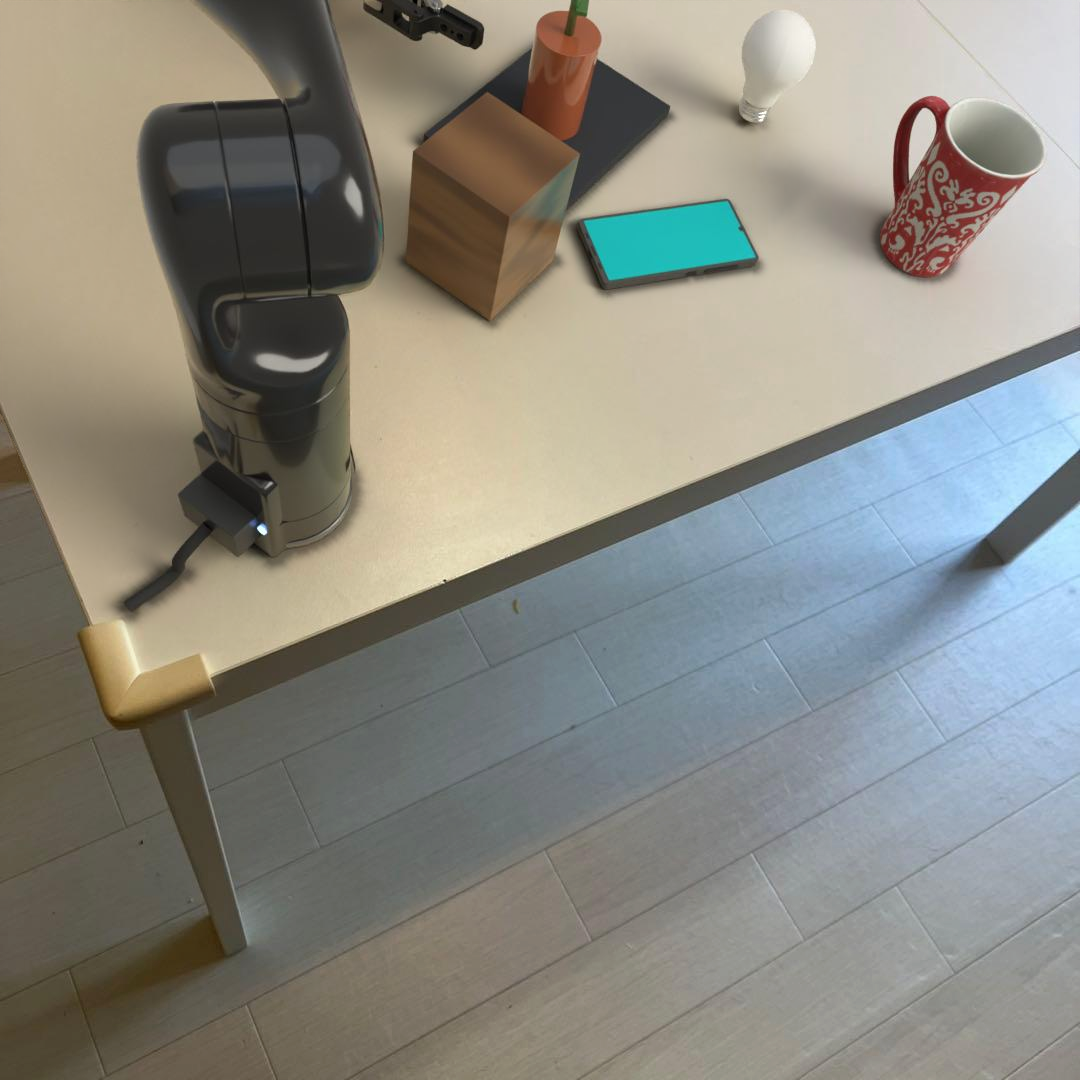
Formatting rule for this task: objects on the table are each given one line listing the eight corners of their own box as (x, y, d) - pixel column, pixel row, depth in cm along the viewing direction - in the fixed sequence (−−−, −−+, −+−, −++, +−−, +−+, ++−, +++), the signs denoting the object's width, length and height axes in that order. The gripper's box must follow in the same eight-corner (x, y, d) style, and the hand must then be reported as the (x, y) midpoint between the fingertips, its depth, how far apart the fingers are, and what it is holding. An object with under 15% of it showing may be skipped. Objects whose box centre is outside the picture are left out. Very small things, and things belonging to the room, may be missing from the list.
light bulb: (779, 150, 99) (826, 52, 89) (713, 132, 98) (753, 32, 89) (784, 103, 102) (829, 4, 92) (720, 86, 102) (759, -15, 92)
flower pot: (557, 150, 92) (604, -58, 75) (508, 117, 93) (544, -96, 76) (593, 118, 95) (647, -90, 77) (545, 87, 96) (588, -127, 78)
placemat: (546, 229, 90) (549, 219, 88) (422, 144, 92) (423, 133, 91) (667, 116, 98) (670, 106, 97) (551, 41, 100) (553, 30, 99)
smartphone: (577, 219, 89) (729, 198, 93) (575, 225, 90) (726, 204, 94) (605, 284, 87) (760, 260, 91) (603, 291, 87) (757, 266, 91)
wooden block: (489, 321, 84) (509, 217, 73) (405, 262, 85) (412, 150, 75) (553, 260, 88) (580, 153, 77) (471, 204, 89) (487, 91, 79)
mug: (980, 269, 96) (1069, 159, 84) (910, 298, 93) (992, 188, 81) (900, 175, 100) (974, 57, 88) (830, 200, 97) (896, 81, 85)
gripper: (299, -78, 83) (468, 16, 81) (398, -154, 89) (556, -68, 88) (303, 5, 89) (459, 93, 88) (395, -71, 96) (542, 10, 94)
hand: (507, 12), depth 88 cm, fingers open, 8 cm apart
